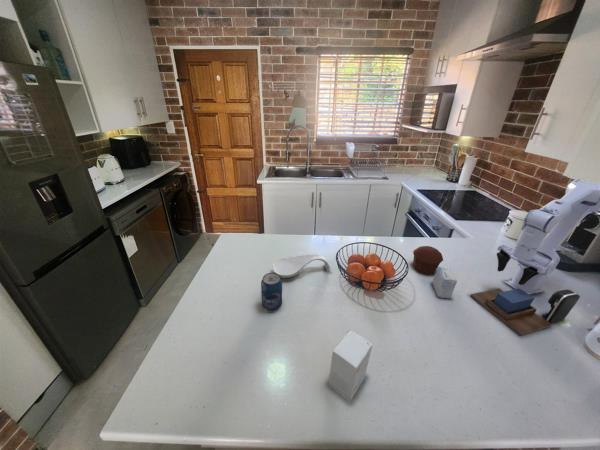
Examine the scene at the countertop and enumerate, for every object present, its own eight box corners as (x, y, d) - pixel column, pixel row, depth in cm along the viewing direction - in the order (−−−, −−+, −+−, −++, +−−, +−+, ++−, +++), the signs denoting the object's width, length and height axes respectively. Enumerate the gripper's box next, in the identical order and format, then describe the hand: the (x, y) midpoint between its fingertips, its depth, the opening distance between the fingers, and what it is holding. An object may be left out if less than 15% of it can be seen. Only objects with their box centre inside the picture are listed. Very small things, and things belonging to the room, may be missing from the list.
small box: (344, 361, 68) (350, 328, 62) (365, 377, 64) (373, 343, 58) (327, 384, 62) (332, 350, 56) (349, 402, 59) (357, 368, 53)
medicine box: (450, 299, 91) (457, 280, 87) (437, 297, 92) (444, 278, 88) (443, 285, 98) (450, 267, 94) (431, 283, 99) (437, 265, 95)
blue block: (512, 301, 90) (519, 288, 87) (526, 311, 86) (534, 298, 83) (491, 305, 87) (497, 292, 85) (505, 316, 83) (512, 303, 80)
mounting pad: (498, 290, 96) (501, 284, 95) (550, 326, 81) (555, 320, 80) (470, 296, 93) (473, 290, 91) (519, 335, 77) (523, 329, 76)
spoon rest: (274, 284, 95) (274, 269, 92) (270, 266, 105) (270, 252, 102) (332, 276, 100) (334, 262, 97) (323, 260, 110) (325, 246, 107)
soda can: (262, 314, 82) (260, 286, 76) (261, 299, 88) (260, 272, 82) (283, 312, 83) (283, 284, 77) (281, 297, 89) (281, 270, 83)
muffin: (434, 262, 112) (440, 243, 107) (442, 277, 102) (449, 257, 97) (407, 259, 113) (412, 240, 109) (412, 274, 104) (418, 254, 99)
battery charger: (551, 311, 87) (569, 286, 82) (564, 320, 84) (583, 294, 79) (536, 314, 86) (553, 289, 80) (548, 323, 82) (566, 297, 77)
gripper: (497, 235, 88) (483, 266, 94) (543, 258, 75) (523, 292, 82) (512, 233, 90) (497, 264, 96) (559, 255, 77) (538, 289, 83)
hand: (510, 277), depth 89 cm, fingers open, 7 cm apart
